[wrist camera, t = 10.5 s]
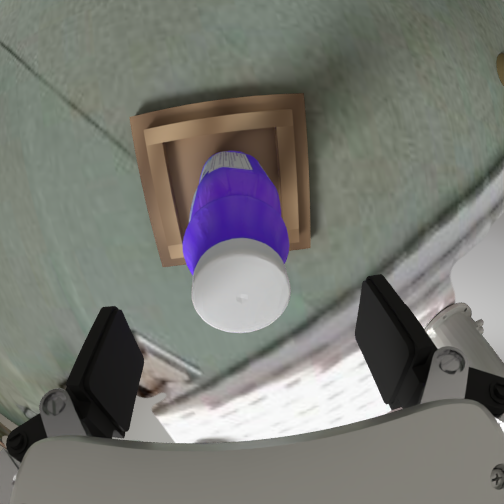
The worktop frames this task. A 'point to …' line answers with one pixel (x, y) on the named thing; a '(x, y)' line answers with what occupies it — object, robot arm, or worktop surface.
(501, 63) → the tan game pawn
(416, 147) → the worktop surface
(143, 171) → the walnut base
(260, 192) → the bottle
